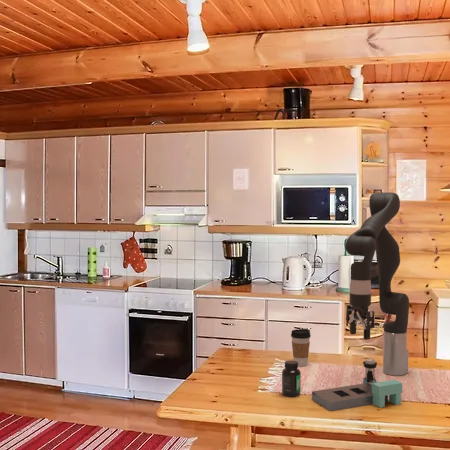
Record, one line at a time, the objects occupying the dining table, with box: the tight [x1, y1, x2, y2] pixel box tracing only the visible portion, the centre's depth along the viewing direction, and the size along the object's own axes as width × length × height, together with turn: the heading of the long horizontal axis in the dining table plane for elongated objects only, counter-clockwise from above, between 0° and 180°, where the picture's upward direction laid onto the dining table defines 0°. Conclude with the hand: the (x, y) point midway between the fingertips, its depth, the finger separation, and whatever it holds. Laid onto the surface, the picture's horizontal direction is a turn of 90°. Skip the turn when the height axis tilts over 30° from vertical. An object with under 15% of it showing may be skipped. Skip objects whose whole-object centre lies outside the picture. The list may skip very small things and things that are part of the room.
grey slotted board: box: [311, 383, 389, 412], centre depth 209 cm, size 24×12×3 cm, turn 113°
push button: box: [362, 358, 378, 385], centre depth 224 cm, size 7×5×10 cm
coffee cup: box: [290, 328, 311, 367], centre depth 252 cm, size 8×8×15 cm
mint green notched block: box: [372, 379, 403, 409], centre depth 205 cm, size 10×4×8 cm, turn 113°
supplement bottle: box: [281, 360, 302, 398], centre depth 215 cm, size 7×7×12 cm
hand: (359, 336), depth 210 cm, fingers open, 8 cm apart
